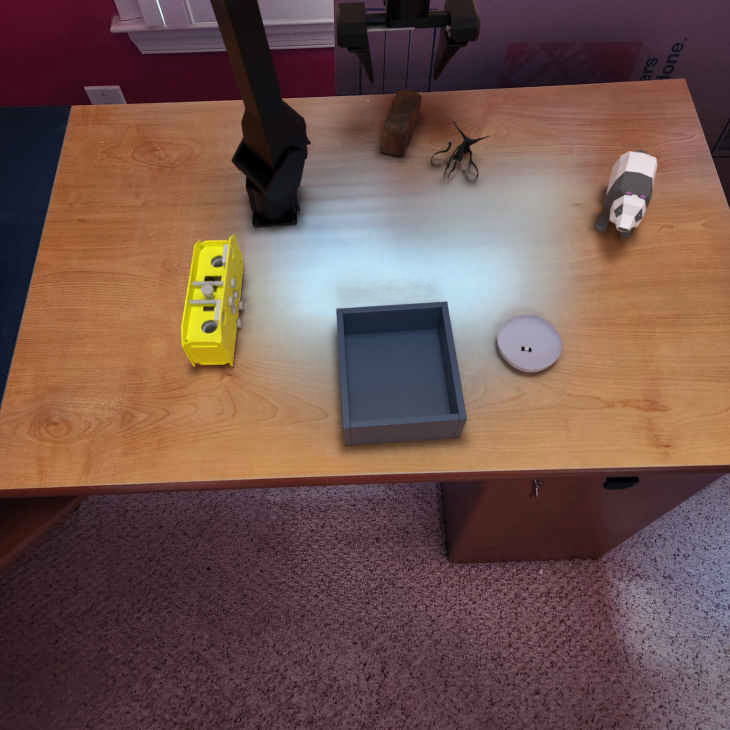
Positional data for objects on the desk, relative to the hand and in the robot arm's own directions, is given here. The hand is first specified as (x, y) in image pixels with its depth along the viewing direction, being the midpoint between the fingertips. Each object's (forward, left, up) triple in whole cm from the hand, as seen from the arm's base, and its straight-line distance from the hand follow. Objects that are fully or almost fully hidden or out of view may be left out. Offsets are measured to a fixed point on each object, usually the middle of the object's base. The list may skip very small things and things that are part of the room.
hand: (403, 80), depth 84 cm
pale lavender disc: (+12, -40, -10) cm, 43 cm away
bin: (-5, -44, -10) cm, 45 cm away
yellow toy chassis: (-27, -32, -10) cm, 43 cm away
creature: (+9, -6, -7) cm, 13 cm away
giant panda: (+29, -20, -10) cm, 37 cm away
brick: (0, 0, -10) cm, 10 cm away
